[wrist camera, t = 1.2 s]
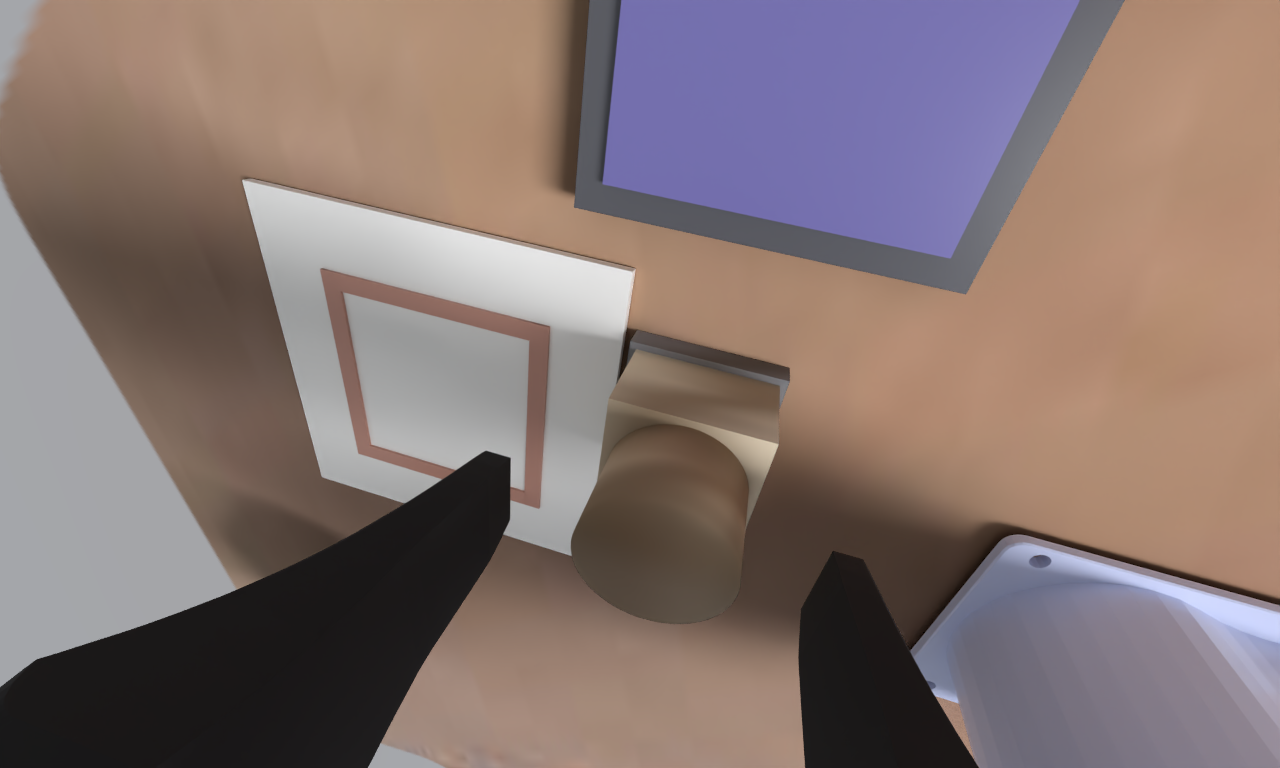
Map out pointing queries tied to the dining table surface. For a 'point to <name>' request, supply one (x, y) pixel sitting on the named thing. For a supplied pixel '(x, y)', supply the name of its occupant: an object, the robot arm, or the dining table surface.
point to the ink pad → (830, 121)
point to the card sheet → (444, 351)
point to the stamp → (678, 479)
